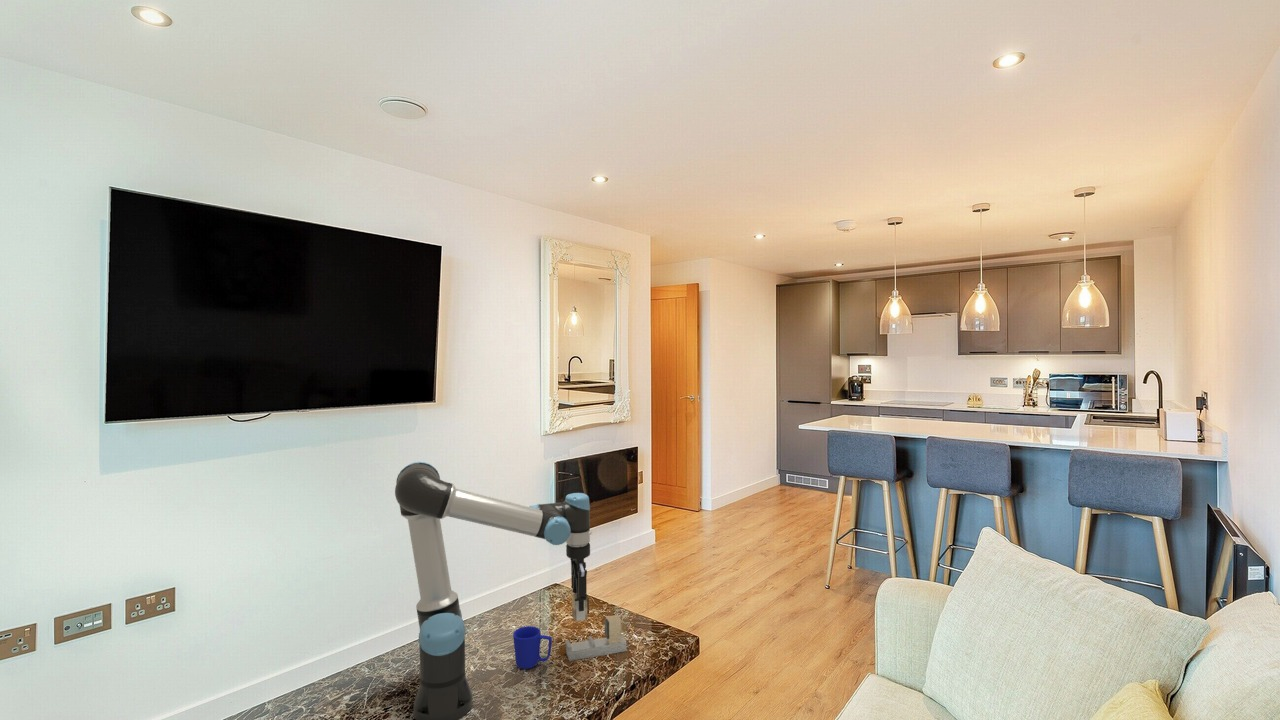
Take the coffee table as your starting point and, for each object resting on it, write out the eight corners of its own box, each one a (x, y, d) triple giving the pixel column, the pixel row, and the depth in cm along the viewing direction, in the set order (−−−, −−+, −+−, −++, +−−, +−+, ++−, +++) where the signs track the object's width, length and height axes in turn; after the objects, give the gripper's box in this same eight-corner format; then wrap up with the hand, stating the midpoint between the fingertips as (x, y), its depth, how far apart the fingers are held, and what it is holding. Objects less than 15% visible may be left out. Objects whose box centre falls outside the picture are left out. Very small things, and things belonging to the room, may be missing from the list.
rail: (568, 661, 181) (568, 629, 181) (565, 653, 186) (565, 622, 186) (626, 651, 187) (626, 620, 187) (622, 643, 192) (621, 613, 192)
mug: (546, 674, 174) (546, 641, 174) (509, 670, 177) (508, 637, 176) (556, 660, 182) (555, 628, 182) (520, 656, 185) (519, 625, 185)
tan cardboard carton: (575, 621, 182) (574, 599, 182) (572, 616, 186) (571, 594, 186) (589, 619, 184) (588, 597, 184) (586, 613, 188) (586, 592, 187)
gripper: (596, 550, 177) (597, 627, 178) (583, 534, 194) (584, 604, 194) (571, 553, 175) (572, 630, 175) (561, 536, 191) (562, 607, 192)
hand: (579, 616), depth 185 cm, fingers closed on tan cardboard carton, 4 cm apart
